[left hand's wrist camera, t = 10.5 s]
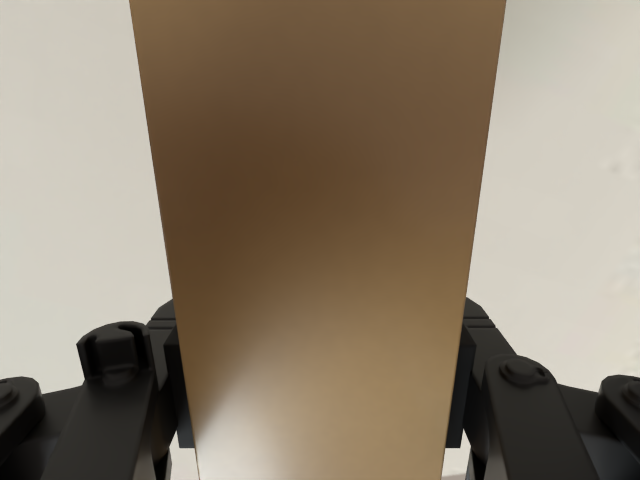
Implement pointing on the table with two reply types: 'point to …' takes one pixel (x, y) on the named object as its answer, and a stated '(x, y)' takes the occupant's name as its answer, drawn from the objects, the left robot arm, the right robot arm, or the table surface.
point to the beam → (318, 222)
